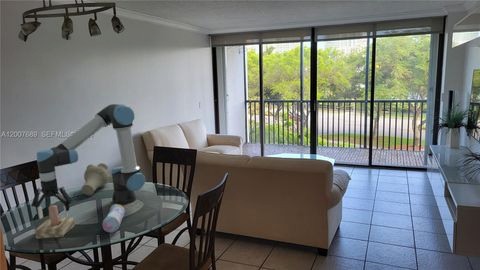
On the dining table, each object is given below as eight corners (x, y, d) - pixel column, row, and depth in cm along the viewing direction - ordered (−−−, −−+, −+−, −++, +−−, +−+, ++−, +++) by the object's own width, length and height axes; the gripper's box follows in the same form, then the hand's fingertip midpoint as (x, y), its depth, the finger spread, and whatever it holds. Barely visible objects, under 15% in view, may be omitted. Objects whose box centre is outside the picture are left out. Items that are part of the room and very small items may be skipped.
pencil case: (110, 218, 200) (108, 203, 198) (126, 217, 201) (124, 201, 199) (102, 235, 179) (100, 218, 178) (120, 233, 181) (118, 216, 179)
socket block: (74, 225, 193) (73, 217, 192) (63, 236, 179) (62, 228, 178) (49, 226, 192) (48, 219, 191) (36, 238, 178) (34, 230, 178)
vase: (98, 180, 231) (112, 160, 256) (65, 177, 230) (83, 157, 255) (99, 206, 240) (113, 185, 265) (68, 203, 239) (84, 182, 264)
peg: (61, 228, 188) (58, 204, 185) (58, 232, 184) (54, 208, 181) (54, 229, 188) (50, 205, 185) (50, 232, 184) (46, 208, 181)
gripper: (75, 175, 185) (80, 212, 188) (28, 178, 184) (34, 215, 187) (69, 180, 177) (74, 218, 181) (20, 182, 176) (26, 221, 180)
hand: (54, 217), depth 184 cm, fingers open, 13 cm apart
